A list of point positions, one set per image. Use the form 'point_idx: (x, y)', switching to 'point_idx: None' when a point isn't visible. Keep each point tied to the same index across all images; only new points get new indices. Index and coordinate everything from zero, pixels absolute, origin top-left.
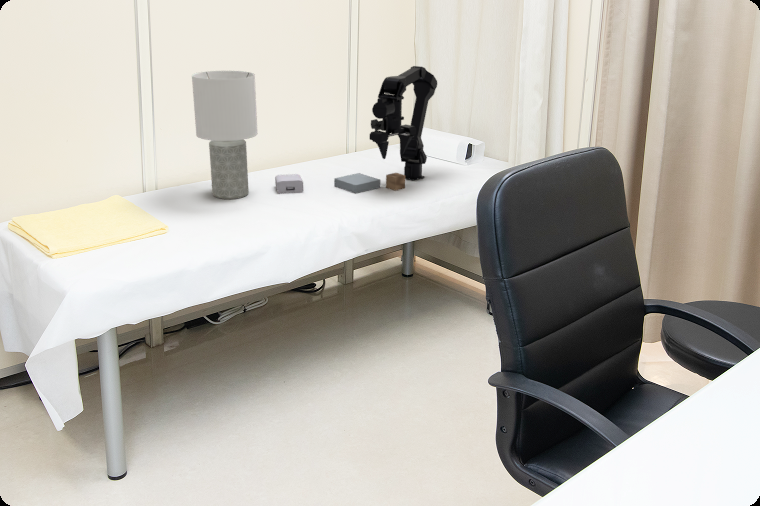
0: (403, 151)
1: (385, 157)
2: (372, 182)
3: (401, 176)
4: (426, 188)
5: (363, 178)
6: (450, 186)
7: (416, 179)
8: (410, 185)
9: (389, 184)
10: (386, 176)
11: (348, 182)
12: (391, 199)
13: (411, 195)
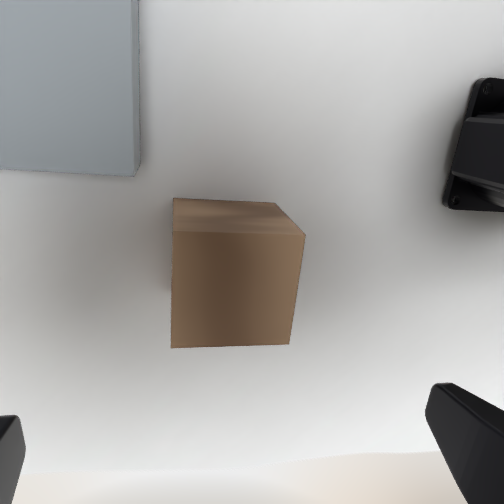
0: (453, 472)
1: (10, 485)
2: (26, 169)
3: (243, 344)
4: (349, 364)
5: (3, 10)
6: None
7: (470, 208)
8: (340, 268)
9: (172, 247)
10: (173, 230)
11: None
12: (11, 408)
13: (177, 411)
